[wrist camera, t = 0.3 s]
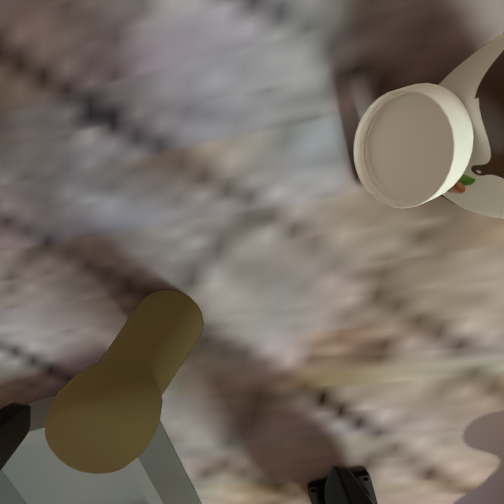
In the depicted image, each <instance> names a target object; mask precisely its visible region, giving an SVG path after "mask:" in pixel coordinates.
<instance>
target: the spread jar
mask: <svg viewBox="0 0 504 504" xmlns="http://www.w3.org/2000/svg"><path fill="white" fill-rule="evenodd" d="M353 155H354V163H355V168H356V172H357V174H358V177H359V179H360V181H361V183H362V184H363V186H364V188H365V189H366V190H367V191H368V193H369V194H370V195H371V196H373V197H374V198H375V199H376V200H378V201H379V202H381V203H382V204H385V205H387V206H390V207H395V208H411V207H414V206H418V205H420V204H423V203H425V202H427V201H429V200H432V199H434V198H436V197H438V196H440V195H441V196H442V197H444V198H445V199H447V200H449V201H450V202H452V203H454V204H456V205H458V206H460V207H462V208H464V209H466V210H468V211H471V212H474V213H478V214H481V215H485V216H490V217H495V218H502V219H504V33H503V34H501V35H500V36H498V37H497V38H495V39H494V40H492V41H491V42H489V43H488V44H486V45H485V46H484V47H482V48H481V49H479V50H478V51H476V52H475V53H474V54H473V55H471V56H470V57H469V58H467V59H466V60H465V61H464V62H462V63H461V64H460V65H459V66H457V67H456V68H455V69H454V70H453V71H452V72H451V73H449V74H448V75H447V76H446V77H445V78H444V79H443V80H442V81H441V82H440V83H439V85H436V84H430V83H420V84H413V85H410V86H406V87H403V88H400V89H396V90H393V91H390V92H387V93H386V94H384V95H382V96H381V97H379V98H378V99H376V100H375V101H374V102H373V103H372V104H371V105H370V106H369V107H368V109H367V110H366V111H365V113H364V114H363V116H362V118H361V120H360V122H359V124H358V127H357V130H356V133H355V138H354V146H353Z"/></svg>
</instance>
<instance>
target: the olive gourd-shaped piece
mask: <svg viewBox="0 0 504 504" xmlns="http://www.w3.org/2000/svg"><path fill="white" fill-rule="evenodd" d="M203 323H204V322H203V317H202V313H201V311H200V309H199V307H198V305H197V304H196V303H195V302H194V301H193V300H192V299H191V298H190V297H189V296H187V295H185V294H183V293H181V292H179V291H174V290H168V289H167V290H158V291H155V292H153V293H151V294H148V295H147V296H146V297H145V298H144V299H143V300H142V301H141V302H140V303H139V304H138V306H137V307H136V309H135V310H134V312H133V313H132V315H131V316H130V318H129V319H128V321H127V322H126V323H125V325H124V326H123V328H122V329H121V331H120V332H119V334H118V335H117V337H116V338H115V340H114V341H113V343H112V344H111V346H110V347H109V349H108V350H107V351H106V353H105V354H104V356H103V357H102V359H101V360H100V362H98V363H96V364H94V365H91V366H89V367H87V368H85V369H84V370H82V371H81V372H79V373H78V374H76V375H75V376H74V377H73V378H72V379H71V380H70V381H69V382H68V383H67V384H66V385H65V386H64V387H63V388H62V389H61V390H60V391H59V392H58V394H57V395H56V397H55V399H54V400H53V402H52V404H51V406H50V409H49V411H48V413H47V417H46V422H45V438H46V440H47V443H48V445H49V448H50V449H51V450H52V451H53V453H54V454H55V455H56V456H57V457H58V459H59V460H60V461H62V462H63V463H65V464H66V465H67V466H69V467H71V468H73V469H76V470H78V471H81V472H86V473H92V474H102V473H112V472H115V471H117V470H120V469H123V468H124V467H126V466H127V465H128V464H129V463H131V462H132V461H133V460H135V459H136V458H137V457H138V456H140V455H141V454H142V453H143V452H144V450H145V449H146V447H147V446H148V444H149V443H150V441H151V440H152V438H153V436H154V434H155V433H156V430H157V427H158V425H159V422H160V415H161V408H162V397H161V396H162V394H163V393H164V391H165V390H166V388H167V387H168V385H169V384H170V382H171V380H172V379H173V377H174V376H175V374H176V373H177V371H178V370H179V368H180V366H181V365H182V363H183V362H184V360H185V359H186V357H187V356H188V354H189V352H190V351H191V349H192V348H193V346H194V345H195V343H196V342H197V340H198V338H199V337H200V335H201V333H202V329H203Z"/></svg>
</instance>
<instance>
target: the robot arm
mask: <svg viewBox="0 0 504 504" xmlns="http://www.w3.org/2000/svg"><path fill="white" fill-rule="evenodd" d="M30 423H31V407H30V405H28V404H24V403H19V402H15V403H11V404H9V405H7V406H5V407H3V408H1V409H0V471H1V470H2V468H3V467H4V466H5V464H6V463H7V461H8V460H9V459H10V457H11V456H12V455H13V453H14V452H15V451H16V449H17V448H18V447H19V445H20V444H21V443H22V441H23V440H24V438H25V437H26V435H27V434H28V432H29V429H30ZM308 492H309V494H310V497H311V500H312V503H313V504H377V500H376V496H375V493H374V489H373V485H372V482H371V478H370V475H369V473H368V472H367V471H362V472H357V473H353V474H352V473H351V471H350V470H349V469H348V468H347V467H344V466H339V465H334V466H333V467H332V469H331V471H330V474H329V476H328V479H326V480H321V481H317V482H312V483H309V484H308Z"/></svg>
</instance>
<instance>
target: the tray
mask: <svg viewBox="0 0 504 504" xmlns="http://www.w3.org/2000/svg"><path fill="white" fill-rule="evenodd" d="M55 397H56V395H54V396H50V397H47V398H43V399H39V400H36V401H32V402H29V403H25V404H28V405H30V407H31V423H30V429H29V432H28V434H27V435H26V437H25V438H24V440H23V441H22V443H21V444H20V445H19V447H18V448H17V449H16V451H15V452H14V453H13V455H12V456H11V457H10V459H9V460H8V461H7V463H6V464H5V466H4V467H3V468H2V470H1V471H0V504H202V503H201V501H200V499H199V497H198V495H197V493H196V491H195V490H194V488H193V486H192V484H191V482H190V480H189V478H188V476H187V474H186V472H185V470H184V468H183V466H182V464H181V462H180V460H179V458H178V456H177V454H176V452H175V450H174V448H173V446H172V444H171V442H170V440H169V438H168V436H167V434H166V432H165V430H164V428H163V426H162V424H161V422H159V425H158V427H157V430H156V433H155V434H154V436H153V438H152V440H151V441H150V443H149V444H148V446H147V447H146V449H145V450H144V452H143V453H142V454H141V455H140V456H138V457H137V458H136V459H135V460H133V461H132V462H131V463H129V464H128V465H127V466H126V467H124V468H123V469H120V470H117V471H115V472H112V473H102V474H92V473H86V472H81V471H78V470H76V469H73V468H71V467H69V466H67V465H66V464H65V463H63V462H62V461H60V460H59V459H58V457H57V456H56V455H55V454H54V453H53V451H52V450H51V449H50V448H49V445H48V443H47V440H46V438H45V422H46V417H47V413H48V411H49V409H50V406H51V404H52V402H53V400H54V399H55Z"/></svg>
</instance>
